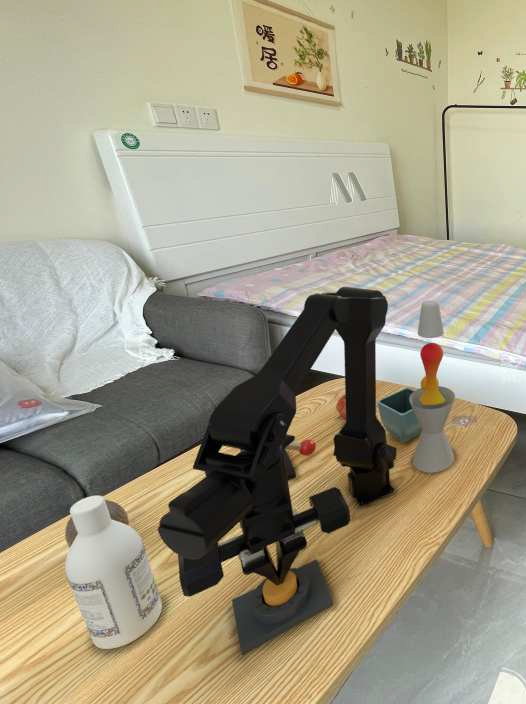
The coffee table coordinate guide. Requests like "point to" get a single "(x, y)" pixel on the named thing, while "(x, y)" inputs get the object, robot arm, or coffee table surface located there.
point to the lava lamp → (432, 398)
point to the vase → (115, 514)
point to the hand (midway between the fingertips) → (279, 581)
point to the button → (280, 590)
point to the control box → (280, 608)
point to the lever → (303, 447)
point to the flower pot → (399, 415)
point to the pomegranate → (341, 407)
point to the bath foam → (110, 576)
